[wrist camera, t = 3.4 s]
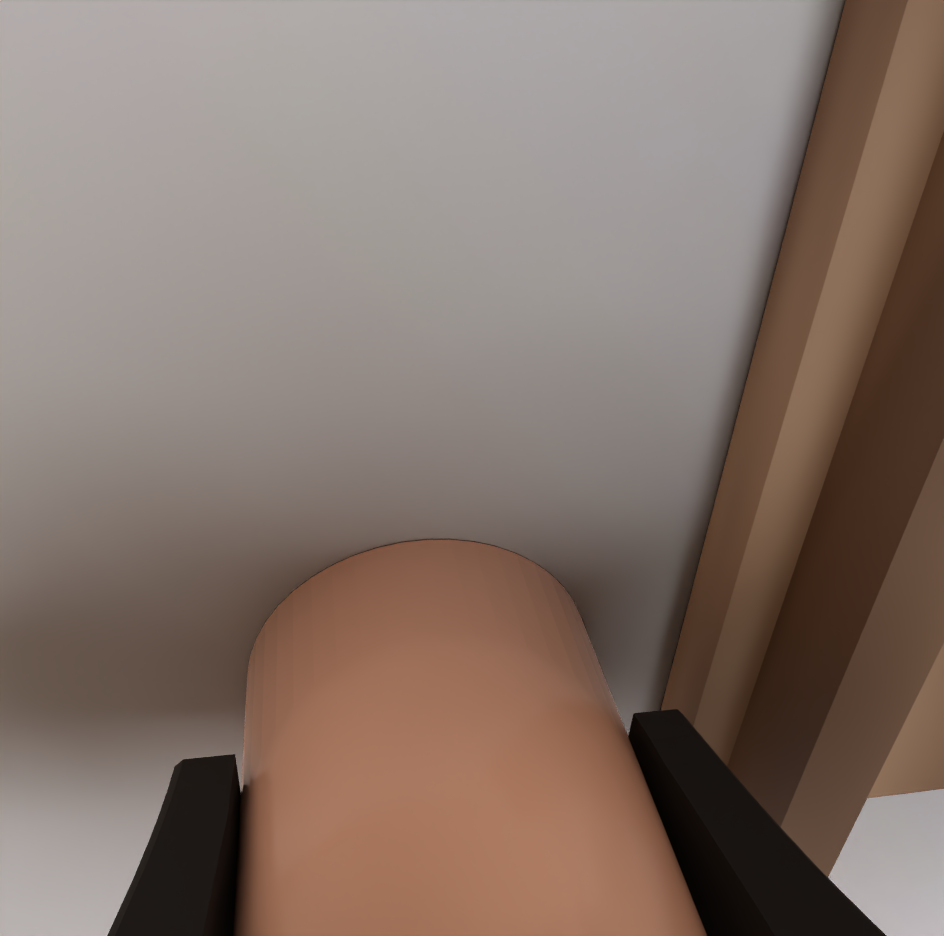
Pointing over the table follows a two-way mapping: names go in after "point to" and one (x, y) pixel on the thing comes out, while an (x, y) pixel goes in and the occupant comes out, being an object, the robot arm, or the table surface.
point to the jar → (443, 762)
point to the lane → (838, 465)
